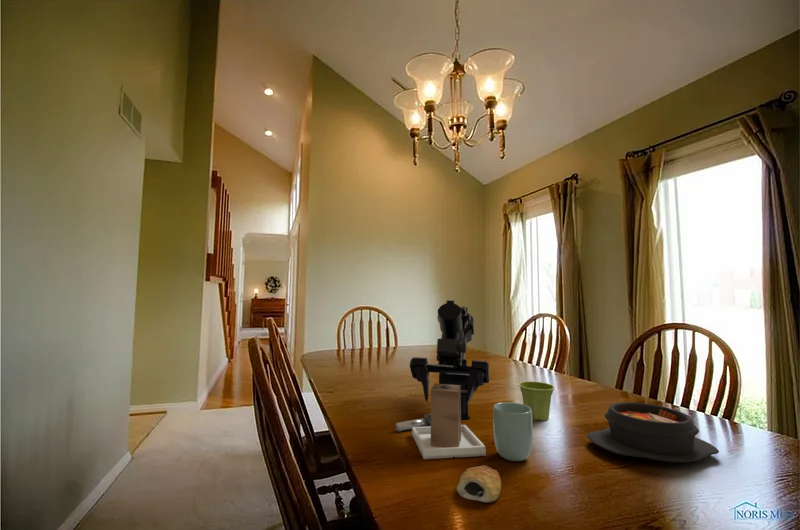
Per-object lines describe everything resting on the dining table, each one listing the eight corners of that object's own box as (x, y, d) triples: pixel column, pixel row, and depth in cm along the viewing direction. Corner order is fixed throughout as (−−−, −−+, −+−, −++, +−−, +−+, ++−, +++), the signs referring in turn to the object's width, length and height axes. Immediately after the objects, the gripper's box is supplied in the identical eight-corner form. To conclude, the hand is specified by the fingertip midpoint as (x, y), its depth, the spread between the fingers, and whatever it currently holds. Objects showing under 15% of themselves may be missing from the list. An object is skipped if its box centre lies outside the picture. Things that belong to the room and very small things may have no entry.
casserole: (671, 434, 89) (669, 399, 90) (748, 470, 71) (744, 426, 71) (571, 435, 88) (570, 400, 89) (622, 473, 69) (620, 427, 70)
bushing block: (435, 436, 86) (435, 382, 87) (461, 438, 84) (460, 384, 85) (430, 446, 80) (430, 388, 81) (458, 449, 78) (458, 390, 79)
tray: (465, 432, 89) (465, 424, 90) (485, 455, 76) (485, 446, 77) (412, 435, 87) (412, 427, 88) (423, 459, 74) (423, 450, 75)
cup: (536, 467, 71) (534, 414, 72) (494, 463, 73) (493, 411, 74) (530, 451, 79) (529, 403, 80) (492, 448, 80) (492, 401, 81)
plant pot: (562, 419, 100) (561, 386, 101) (541, 425, 95) (540, 391, 95) (533, 410, 108) (532, 379, 108) (512, 415, 102) (511, 383, 103)
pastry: (472, 473, 69) (472, 452, 69) (508, 483, 66) (508, 461, 66) (454, 497, 61) (454, 473, 61) (495, 509, 58) (494, 484, 58)
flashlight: (431, 423, 96) (430, 412, 96) (437, 426, 94) (436, 414, 94) (394, 430, 91) (394, 418, 91) (400, 433, 88) (400, 421, 89)
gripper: (411, 324, 92) (400, 379, 80) (488, 326, 87) (488, 385, 75) (417, 351, 99) (408, 405, 87) (489, 354, 94) (489, 412, 82)
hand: (446, 402), depth 83 cm, fingers open, 9 cm apart
